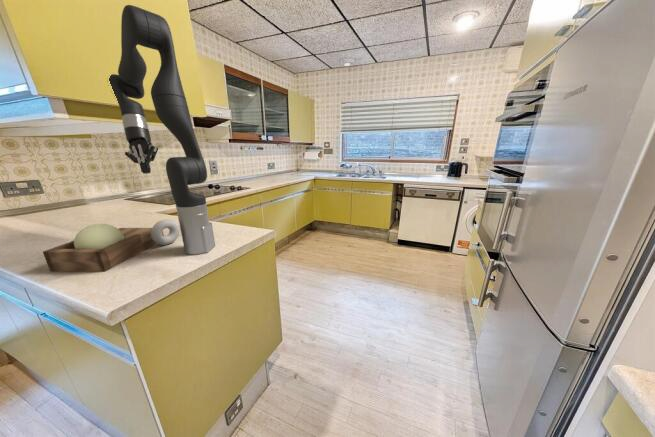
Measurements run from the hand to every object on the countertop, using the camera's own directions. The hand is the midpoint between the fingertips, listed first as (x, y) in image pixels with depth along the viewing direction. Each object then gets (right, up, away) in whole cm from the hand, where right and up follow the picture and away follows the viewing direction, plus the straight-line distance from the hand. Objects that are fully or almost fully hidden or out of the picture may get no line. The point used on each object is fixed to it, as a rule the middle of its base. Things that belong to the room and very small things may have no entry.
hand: (146, 173), depth 89 cm
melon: (-5, -26, -13) cm, 29 cm away
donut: (+9, -28, 0) cm, 29 cm away
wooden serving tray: (-5, -30, -8) cm, 32 cm away
